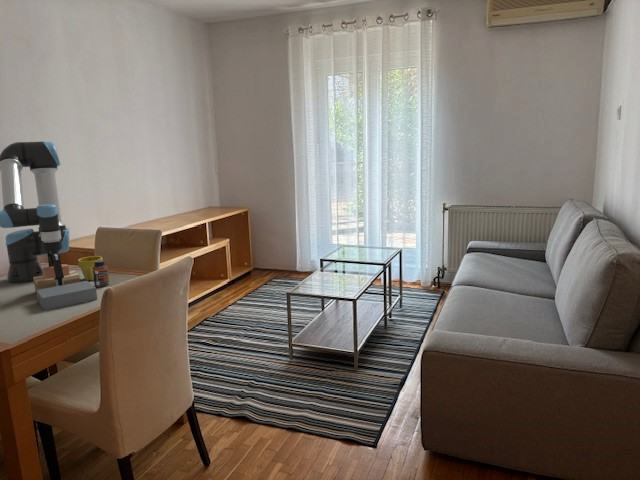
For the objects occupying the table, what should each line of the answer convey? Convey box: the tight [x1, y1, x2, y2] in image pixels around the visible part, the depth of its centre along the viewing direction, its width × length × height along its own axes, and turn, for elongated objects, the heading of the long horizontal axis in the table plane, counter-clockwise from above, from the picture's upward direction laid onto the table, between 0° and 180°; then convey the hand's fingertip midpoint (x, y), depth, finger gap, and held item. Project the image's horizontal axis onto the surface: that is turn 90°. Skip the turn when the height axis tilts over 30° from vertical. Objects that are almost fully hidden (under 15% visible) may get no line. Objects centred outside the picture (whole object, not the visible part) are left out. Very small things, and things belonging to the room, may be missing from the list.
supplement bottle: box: [93, 260, 110, 288], centre depth 211 cm, size 6×6×11 cm
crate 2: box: [58, 264, 70, 276], centre depth 206 cm, size 4×4×4 cm
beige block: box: [33, 270, 81, 294], centre depth 205 cm, size 10×16×7 cm, turn 129°
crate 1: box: [42, 266, 56, 279], centre depth 203 cm, size 4×4×4 cm
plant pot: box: [77, 255, 103, 281], centre depth 224 cm, size 10×10×10 cm
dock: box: [36, 280, 98, 311], centre depth 192 cm, size 14×19×5 cm
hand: (58, 290), depth 206 cm, fingers open, 10 cm apart
